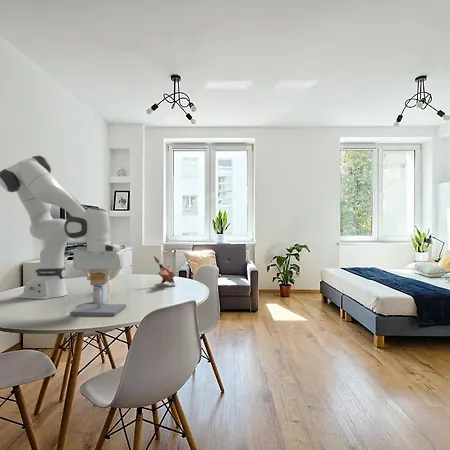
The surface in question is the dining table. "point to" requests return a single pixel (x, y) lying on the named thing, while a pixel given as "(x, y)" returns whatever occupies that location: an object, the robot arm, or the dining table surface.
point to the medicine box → (103, 293)
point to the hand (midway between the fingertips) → (98, 280)
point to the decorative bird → (165, 273)
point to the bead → (97, 278)
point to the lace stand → (98, 308)
